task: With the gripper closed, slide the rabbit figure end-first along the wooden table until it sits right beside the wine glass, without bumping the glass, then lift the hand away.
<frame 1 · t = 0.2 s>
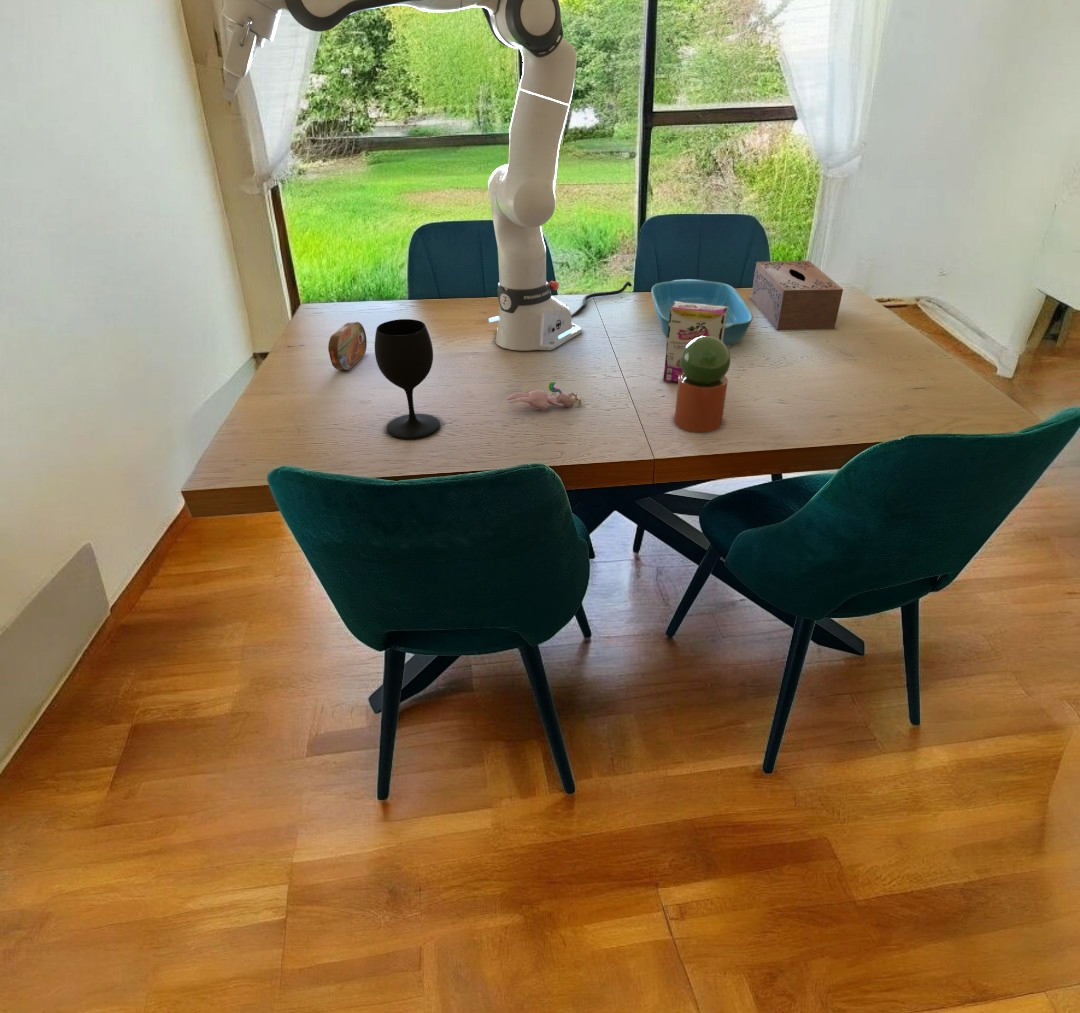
hand: (228, 98, 134), 54 cm above the table, tool tilted 30°, fingers open, 8 cm apart
potted herb: (697, 421, 139), on the table
tissue box cover: (790, 313, 191), on the table
candy bar box: (690, 382, 155), on the table
casserole dish: (696, 328, 183), on the table
rabbit figure: (544, 409, 145), on the table
wine glass: (413, 428, 139), on the table
tin: (350, 363, 167), on the table
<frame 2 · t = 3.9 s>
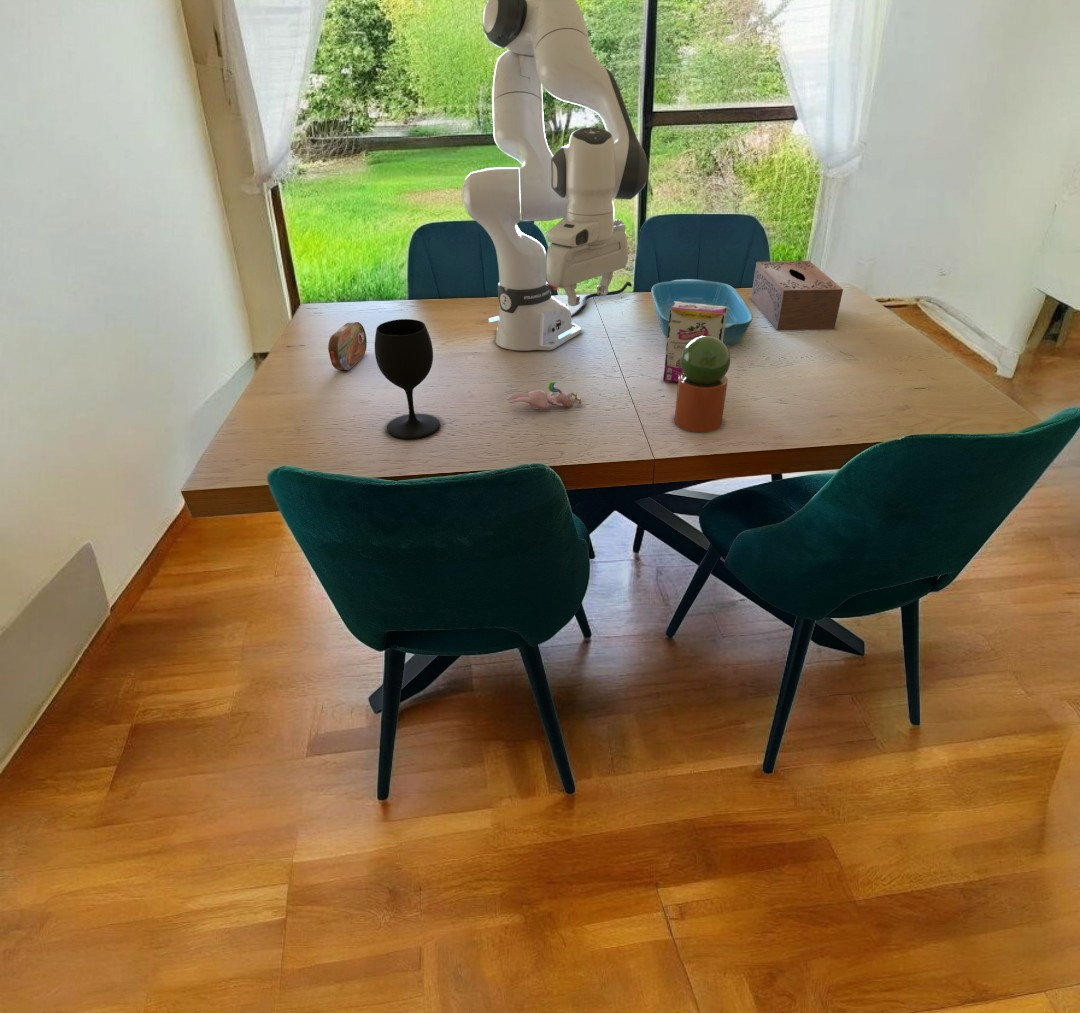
hand: (588, 299, 142), 19 cm above the table, tool pointing down, fingers open, 7 cm apart
nothing on the table moved.
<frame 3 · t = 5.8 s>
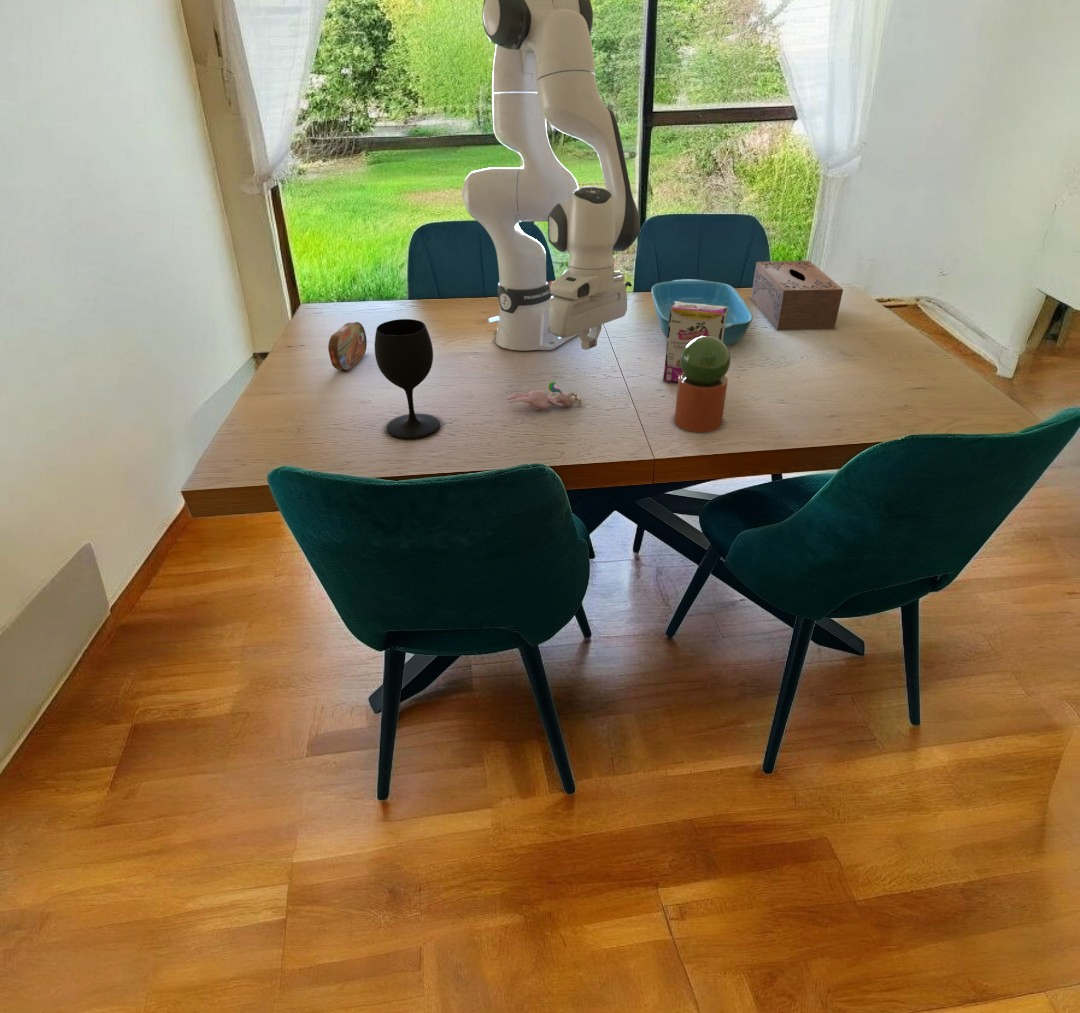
hand: (589, 347, 147), 9 cm above the table, tool pointing down, fingers closed
nothing on the table moved.
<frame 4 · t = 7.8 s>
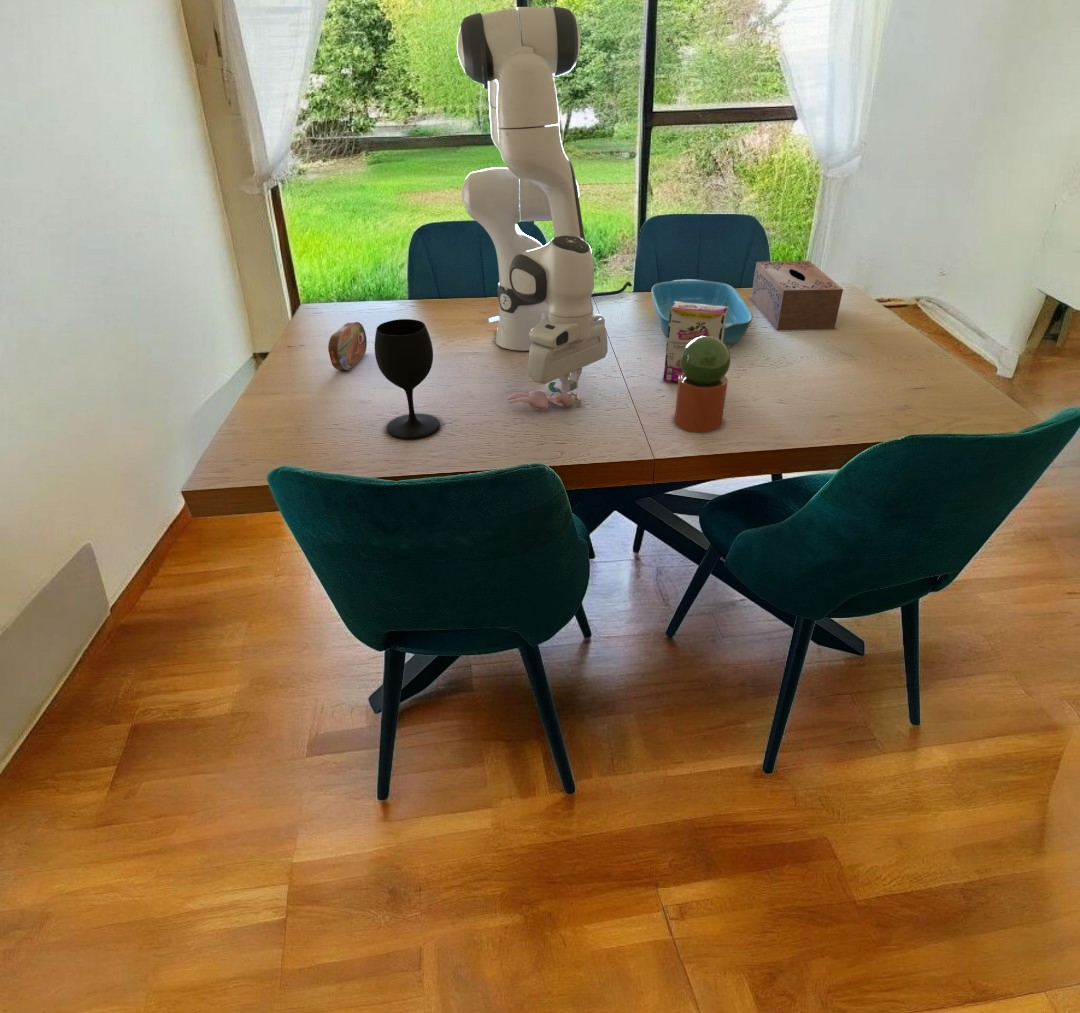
hand: (569, 389, 149), 2 cm above the table, tool pointing down, fingers closed
rabbit figure: (544, 409, 145), on the table, touching gripper
everything else where it was.
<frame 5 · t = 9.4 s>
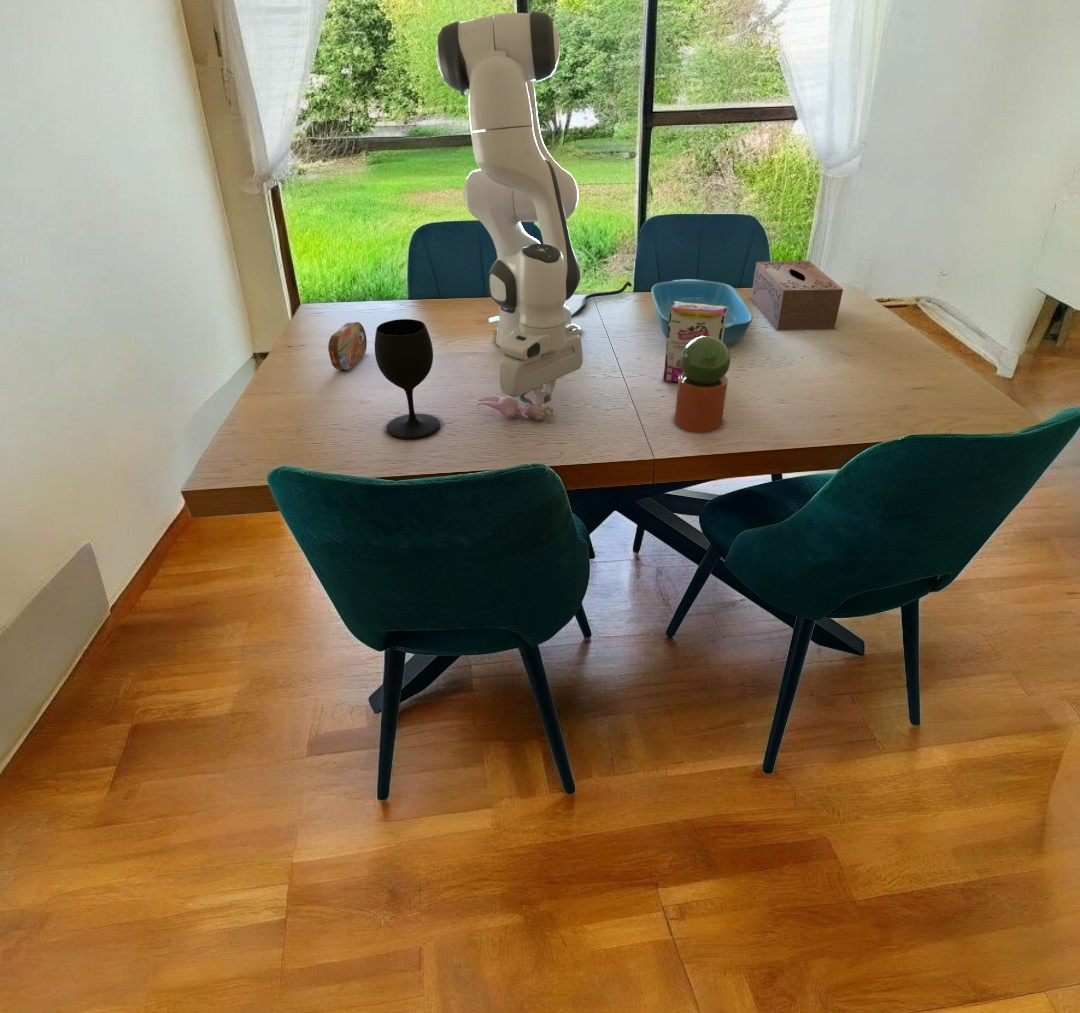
hand: (543, 402, 144), 2 cm above the table, tool pointing down, fingers closed
rabbit figure: (515, 417, 142), on the table, touching gripper
everything else where it was.
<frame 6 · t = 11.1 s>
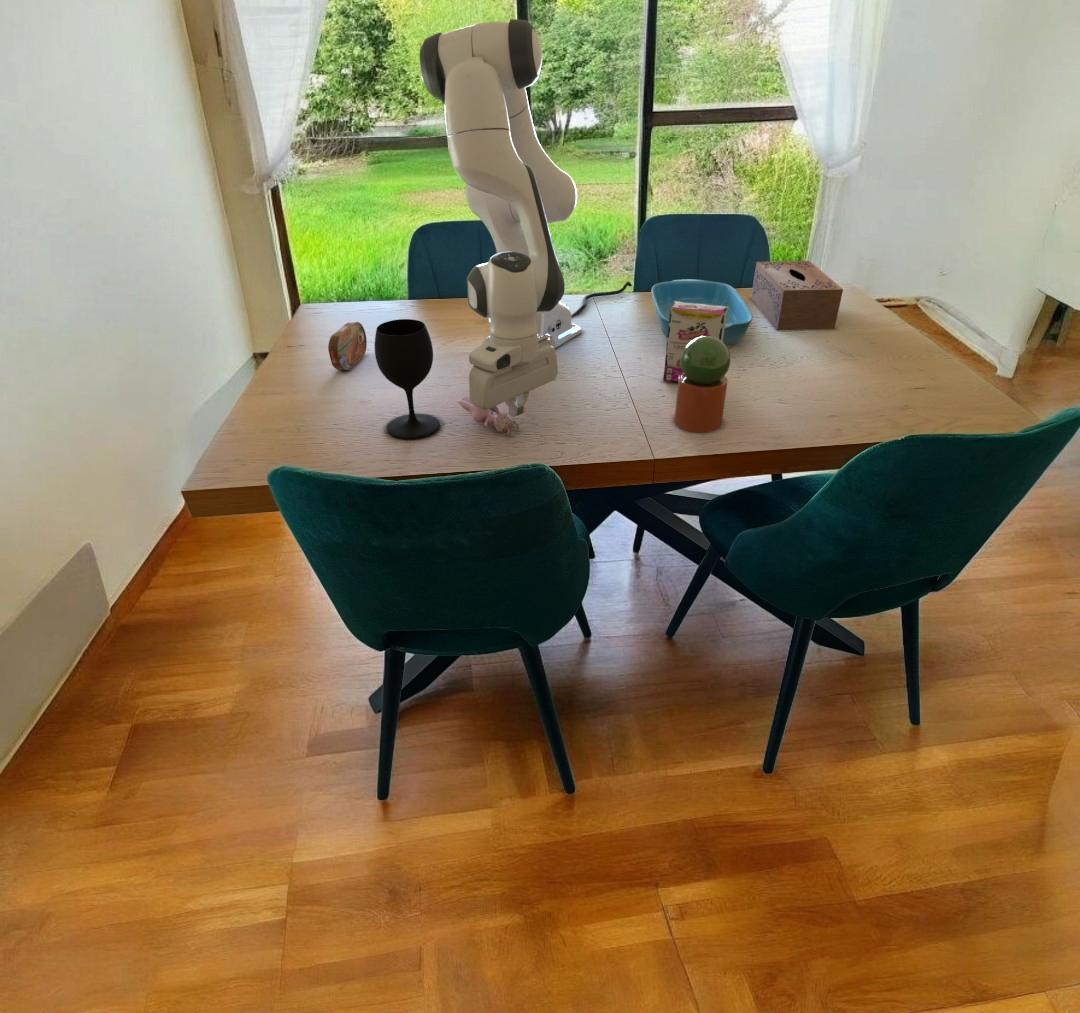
hand: (516, 414, 140), 2 cm above the table, tool pointing down, fingers closed
rabbit figure: (486, 424, 140), on the table, touching gripper
everything else where it was.
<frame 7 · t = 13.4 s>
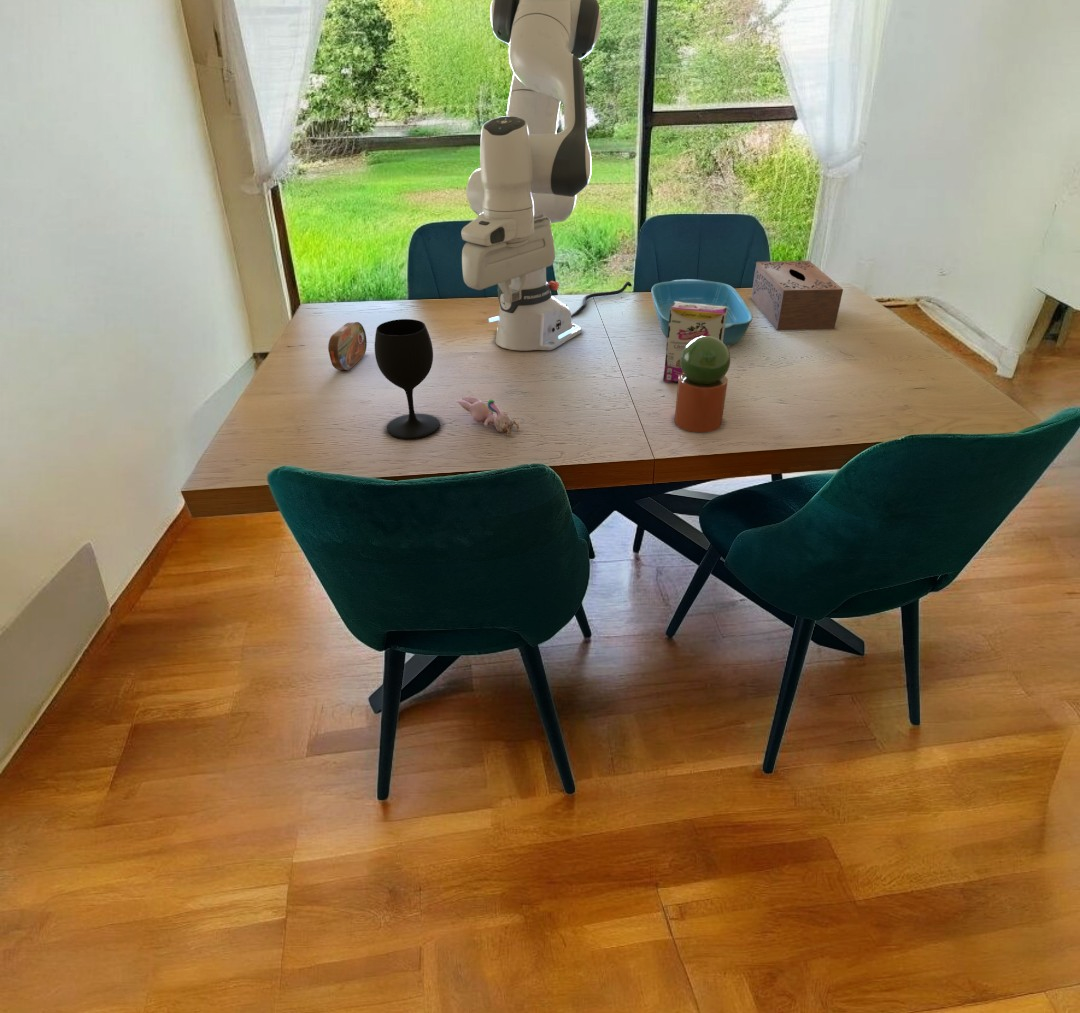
hand: (512, 300, 134), 22 cm above the table, tool pointing down, fingers closed
rabbit figure: (486, 424, 140), on the table
everything else where it was.
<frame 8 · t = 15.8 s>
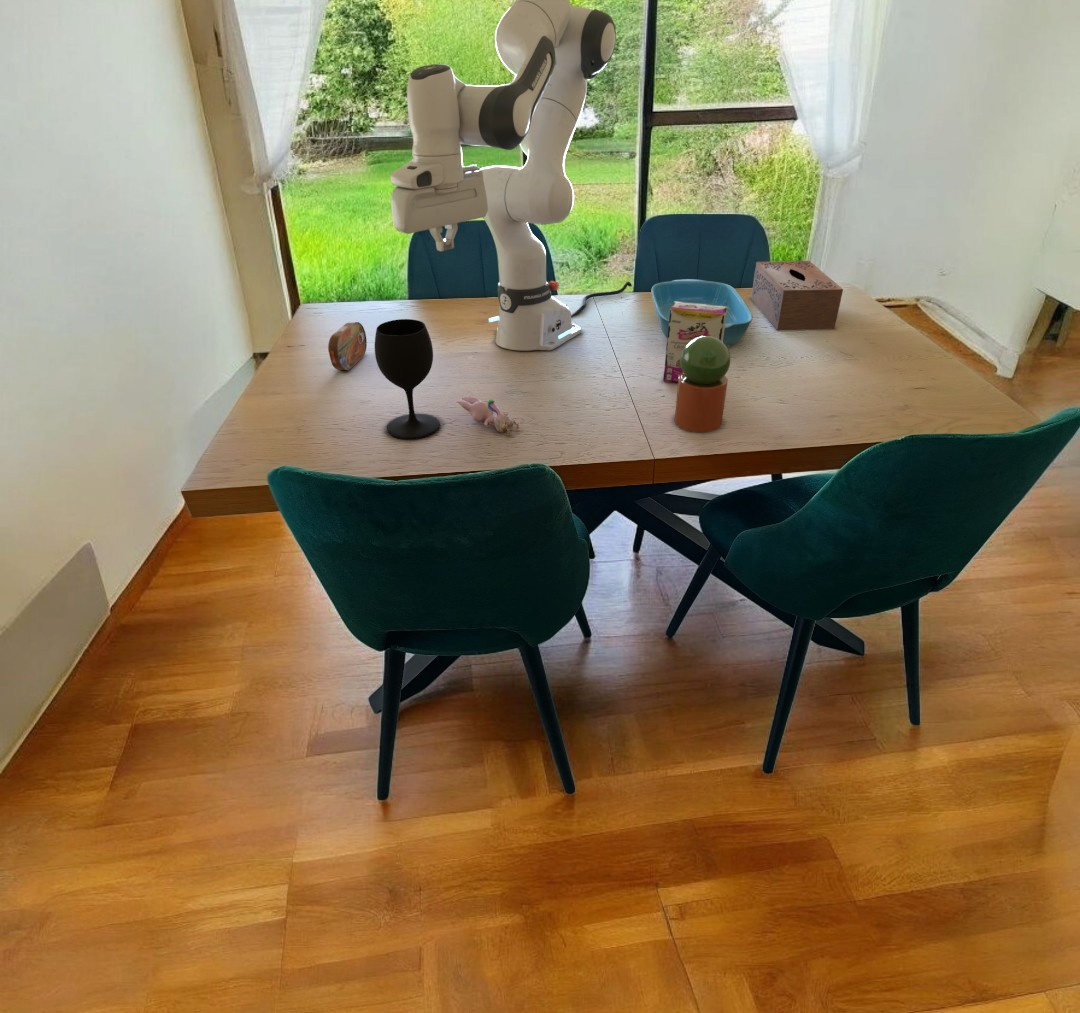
hand: (445, 249, 137), 29 cm above the table, tool pointing down, fingers closed
nothing on the table moved.
at the end: rabbit figure 14.1 cm from the wine glass (horizontally); rabbit figure touching table; wine glass tilted 0° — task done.
